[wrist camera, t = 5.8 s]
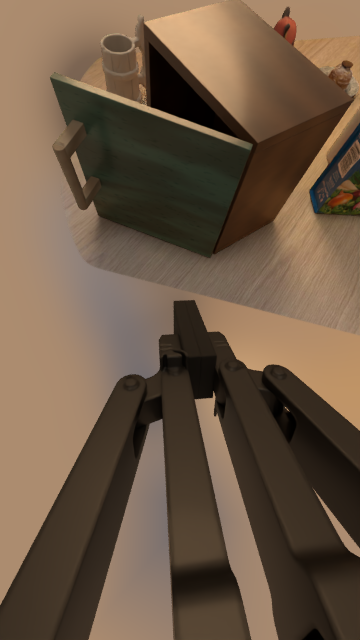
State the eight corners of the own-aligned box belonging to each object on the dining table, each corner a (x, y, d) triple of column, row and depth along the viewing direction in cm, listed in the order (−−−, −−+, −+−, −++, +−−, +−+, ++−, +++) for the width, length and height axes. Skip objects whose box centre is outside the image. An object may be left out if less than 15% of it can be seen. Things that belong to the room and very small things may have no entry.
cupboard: (214, 254, 43) (258, 143, 24) (149, 172, 48) (142, 22, 28) (273, 220, 47) (354, 99, 27) (208, 147, 51) (238, -3, 32)
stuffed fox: (231, 75, 59) (248, 0, 47) (274, 79, 60) (301, 6, 48) (234, 96, 57) (253, 21, 45) (278, 99, 58) (308, 27, 46)
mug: (100, 103, 52) (83, 22, 41) (139, 82, 55) (134, 2, 44) (123, 122, 51) (112, 44, 40) (162, 100, 54) (162, 22, 43)
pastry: (333, 107, 59) (347, 85, 54) (302, 79, 61) (313, 54, 57) (364, 94, 61) (380, 71, 57) (333, 67, 64) (346, 43, 59)
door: (200, 281, 41) (236, 186, 22) (84, 237, 42) (21, 107, 23) (211, 253, 43) (253, 143, 24) (100, 211, 44) (54, 71, 25)
